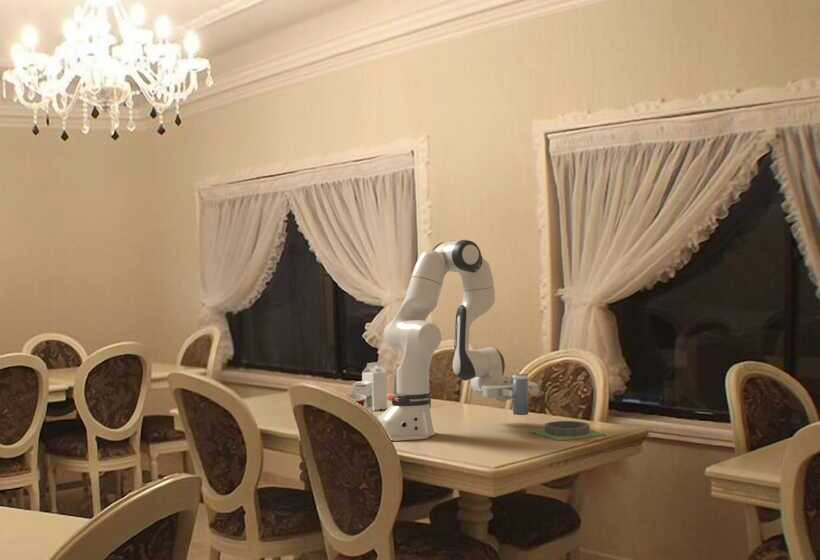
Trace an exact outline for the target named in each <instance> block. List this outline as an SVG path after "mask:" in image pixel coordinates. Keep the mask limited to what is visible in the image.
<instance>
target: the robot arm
mask: <svg viewBox="0 0 820 560" xmlns="http://www.w3.org/2000/svg"><path fill="white" fill-rule="evenodd" d="M448 272H453V273H458V274H459V275H460V277H461V280H462V290H463V297H462V301H461V304H460V305H459V307H458V308H457V309H456V315H455V322H454V323H455V324H454V325H455V326H454V345H453V347H454V349H453V356H452V362H451V368H452V371H453V374H454V375H455V376H456V377H457V378H458V379H461V380H462V381H464V382H465V381H468V380H470V386H471V389H472V390H473V392H474V393H475V394H477V395H478V396H480V397H483V398H485V399H491V400H493V401H497V402H507V401H509V400H513V396H515V391H514V390H513V376H512V377H510V376H507V375H504V374H505V368H506V363H505V358H504V356H503V354H502V353H501V352H500V350H498V348H496V347H494V346H488V347H483V348H478V349H472V350H469V348H470V329H471V326H472V324H473V322H474V321H476V320H477V319H479V318H480V317H481V316H483V315H485V314H487V312H489V311H490V310H491V309H492V307H493V306H494V304H495V299H496V292H495V291H496V290H495V285H494V284H495V283H494V277H493V273H492V270H491V267H490V263H489V262H488V261H487V259H485V258H483V255H482V252H481V250H480V248H479V246H478V245H477V243H476V242H474V241H473V240H470V239H461V240H459V239H458V240H456V239H455V240H454V239H453V240H448V241H443V242H440V243H438V244H436V245H435V246H434V247H433V248H432V250H425V251H422V252H421V253H420V254H419V256H418V258H417V261H416V263H415V265H414V267H413V271H412V272H411V276H410V277H411V278H410V281H409V284H408V288H407V291H406V294H405V297H404V298H403V299H404V300H403V301H402V304H401V306H400V308H399V309H398V311H397V313H396V314H395V316H394V317H393V319H392V320H391V321H390V322H388V323H387V324H386V325H385V327H384V330H383V335H382V336H383V339H384V342H385V344H386V345H387V346H388V347H390V348H392V349H394V350H396V351H401V352H403V356H402V361H401V363H400V365H399V366H398V367H397V369H396V372H395V374H396V375H395V376H396V393H395V394H388V393H387V397H386V398H387V401H390V402H391V405H390V406H389V407H387V409H384V410H385V411H383V412H382V413H381V414H380V415H379V416H377V418H378V420H379V421H380V422H381V423H382V425H383V426H384V427H385V429H386V430H387V432H388V434H389V435H390V437H391V439H392V440H393V441H392V442H395V441H396V442H397V441H398V442H400V441H411V440H427V439H429V437H431V436H434V435H435V434H436V433H435V430H434V426H433V420H432V414H431V407H432V400H431V399H432V397H431V392H430V368H431V367H430V366H431V361H432V359H433V355H434V353H435V351H436V350H437V349H438V348H439V347H440V345H441V342H442V332H441V330H440V328H439V327H438V326H437V325H436V324H434V323H432V322H430V321H428V320H427V318H428V317H429V316H430V314H431V313H432V312H434V310H435V309H436V308H437V306H438V302H439V297H440V294H441V291H442V287H443V285H444V280H445V276H446V275H447V273H448ZM426 320H427V321H426ZM539 391H540V389H539V384H538V383H537V382H534V381H530V380H528V396H537V395H539V393H540V392H539Z"/></svg>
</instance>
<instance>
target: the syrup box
mask: <svg viewBox="0 0 820 560" xmlns="http://www.w3.org/2000/svg"><path fill="white" fill-rule="evenodd" d="M352 394H361V395H365V396H366V399H365V402H364V407H366V408H367V409H368V410H370V411H371V412H372V413H373V411H372V382H368V381H362V380H361V381H357V382H356V381H355V382H353V384H352Z"/></svg>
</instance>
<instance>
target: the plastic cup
mask: <svg viewBox="0 0 820 560" xmlns="http://www.w3.org/2000/svg"><path fill="white" fill-rule="evenodd" d="M345 394H346V395H347V396H349V397H350V398H352V399H354V400H355V401H356V402H358V403H359V404H361V405H362V406H364V402H365V399H366V396H365V395H361V394H353V393H345Z"/></svg>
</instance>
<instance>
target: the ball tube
mask: <svg viewBox="0 0 820 560" xmlns="http://www.w3.org/2000/svg"><path fill="white" fill-rule="evenodd" d="M512 377H513V390H514V391H515V396H513V398H512V414H513V415H516V416H526V415H527V416H528V415H529V395H528V381H529V374H525V373H516V374H514V373H513V374H512Z"/></svg>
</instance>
